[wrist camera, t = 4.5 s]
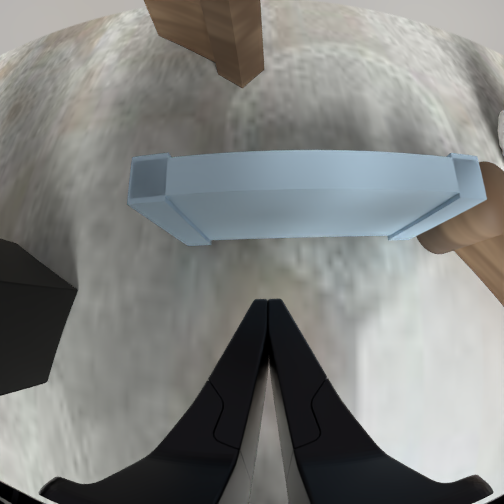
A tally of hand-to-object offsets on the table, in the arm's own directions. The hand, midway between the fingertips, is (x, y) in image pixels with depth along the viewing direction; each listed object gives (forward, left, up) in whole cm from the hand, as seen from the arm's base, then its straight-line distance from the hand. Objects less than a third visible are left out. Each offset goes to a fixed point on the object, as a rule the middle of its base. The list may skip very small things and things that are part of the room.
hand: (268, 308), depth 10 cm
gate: (+5, +2, -8) cm, 9 cm away
